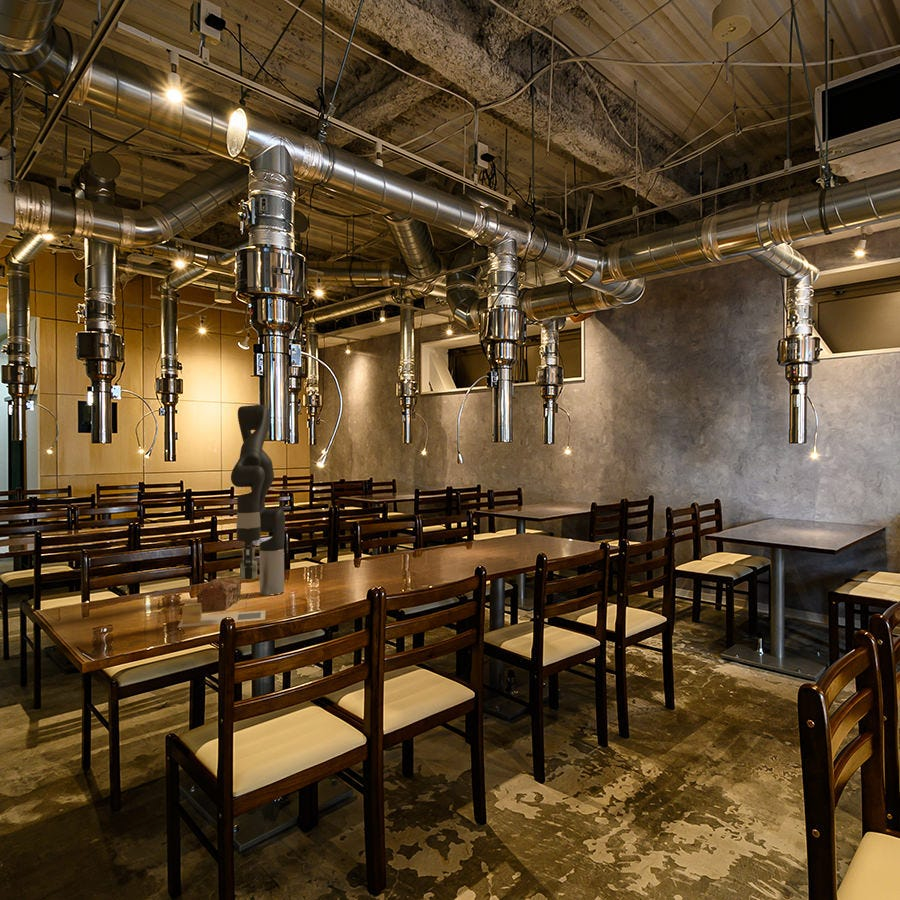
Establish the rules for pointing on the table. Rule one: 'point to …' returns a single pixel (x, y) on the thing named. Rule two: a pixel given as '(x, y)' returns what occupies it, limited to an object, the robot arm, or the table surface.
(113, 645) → the table surface
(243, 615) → the blueprint board
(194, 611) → the ochre block
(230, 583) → the bread
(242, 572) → the green block
